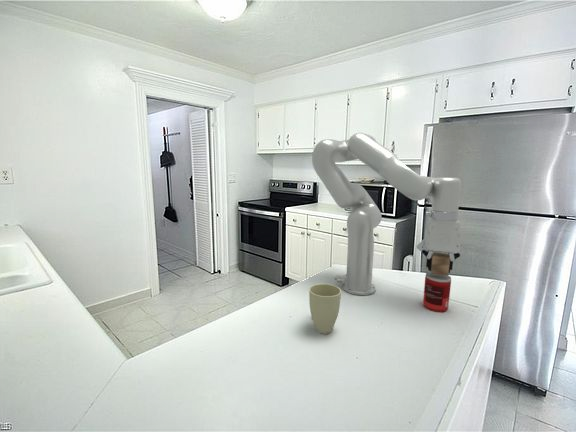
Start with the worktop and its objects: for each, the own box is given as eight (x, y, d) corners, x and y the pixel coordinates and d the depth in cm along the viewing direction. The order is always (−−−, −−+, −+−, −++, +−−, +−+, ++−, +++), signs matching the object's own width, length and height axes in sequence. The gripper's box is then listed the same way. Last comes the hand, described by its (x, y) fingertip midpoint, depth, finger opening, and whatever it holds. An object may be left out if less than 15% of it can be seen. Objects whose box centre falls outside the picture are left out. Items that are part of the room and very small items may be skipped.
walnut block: (431, 273, 95) (432, 256, 94) (429, 268, 99) (430, 251, 98) (448, 275, 93) (450, 257, 92) (445, 270, 98) (447, 253, 97)
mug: (347, 327, 85) (349, 288, 83) (327, 342, 78) (328, 299, 76) (317, 314, 92) (318, 278, 90) (296, 326, 85) (297, 287, 83)
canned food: (442, 302, 102) (445, 272, 100) (452, 313, 94) (456, 280, 92) (419, 300, 102) (421, 271, 101) (427, 311, 95) (430, 279, 93)
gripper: (416, 216, 92) (411, 271, 95) (477, 220, 87) (470, 278, 90) (414, 213, 99) (410, 264, 102) (471, 216, 94) (465, 270, 97)
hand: (438, 270), depth 96 cm, fingers closed on walnut block, 4 cm apart
